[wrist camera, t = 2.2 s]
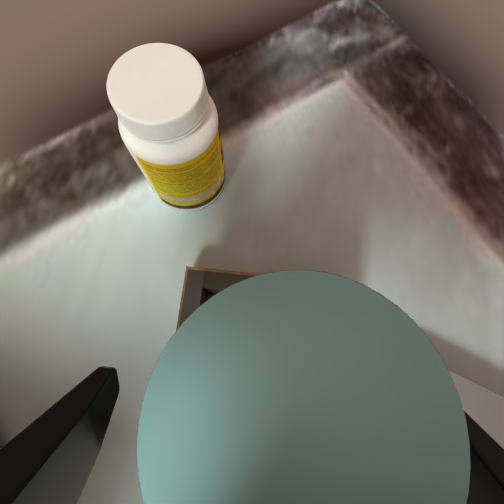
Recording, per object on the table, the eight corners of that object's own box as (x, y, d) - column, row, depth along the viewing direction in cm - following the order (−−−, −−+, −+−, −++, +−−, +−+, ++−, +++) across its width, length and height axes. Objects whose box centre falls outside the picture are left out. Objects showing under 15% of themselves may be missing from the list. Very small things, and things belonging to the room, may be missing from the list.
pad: (522, 615, 16) (551, 643, 14) (351, 521, 17) (361, 539, 15) (563, 431, 18) (590, 439, 17) (408, 355, 19) (422, 357, 17)
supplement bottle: (240, 184, 21) (238, 89, 13) (182, 227, 21) (141, 155, 12) (195, 133, 22) (167, 16, 14) (138, 173, 21) (72, 73, 13)
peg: (275, 431, 16) (373, 741, 4) (200, 377, 17) (65, 489, 4) (321, 350, 17) (519, 380, 5) (249, 302, 18) (255, 216, 5)
